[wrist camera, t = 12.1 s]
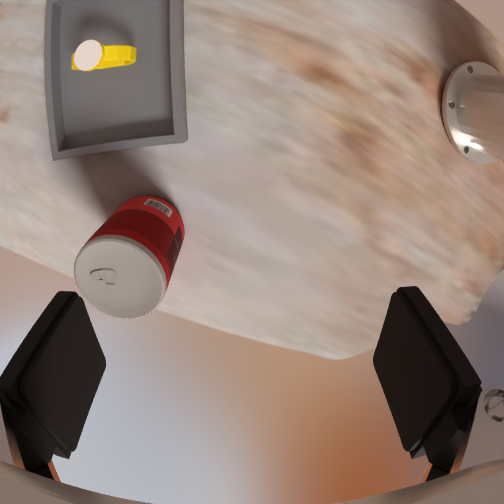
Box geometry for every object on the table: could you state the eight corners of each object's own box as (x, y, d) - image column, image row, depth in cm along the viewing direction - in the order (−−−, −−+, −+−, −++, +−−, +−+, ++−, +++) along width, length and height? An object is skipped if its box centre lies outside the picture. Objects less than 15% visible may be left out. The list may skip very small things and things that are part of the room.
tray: (183, -28, 21) (179, -37, 18) (188, 139, 29) (183, 142, 27) (58, 3, 20) (47, -1, 18) (64, 155, 29) (53, 160, 27)
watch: (90, 77, 25) (56, 77, 20) (91, 52, 24) (57, 47, 18) (143, 70, 25) (116, 65, 20) (145, 43, 24) (118, 33, 18)
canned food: (107, 202, 32) (59, 248, 22) (175, 185, 31) (146, 228, 21) (128, 263, 35) (95, 324, 25) (193, 251, 35) (177, 314, 25)
